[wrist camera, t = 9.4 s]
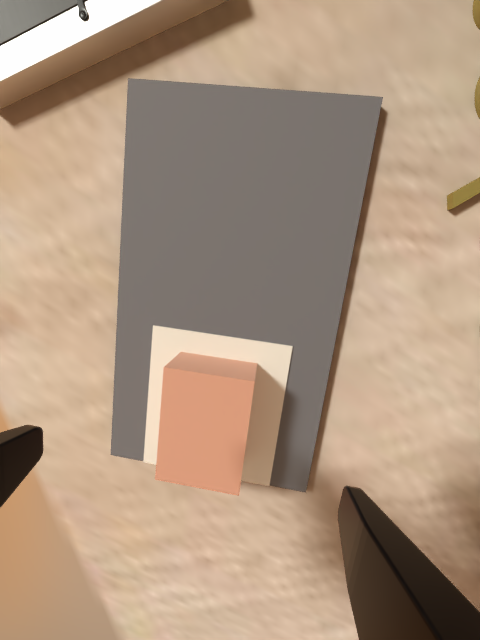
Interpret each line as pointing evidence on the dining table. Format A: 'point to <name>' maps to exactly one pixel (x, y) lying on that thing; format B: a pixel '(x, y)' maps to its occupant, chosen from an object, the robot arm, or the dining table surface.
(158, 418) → the mat
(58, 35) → the picture frame
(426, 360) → the dining table surface
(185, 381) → the card deck
